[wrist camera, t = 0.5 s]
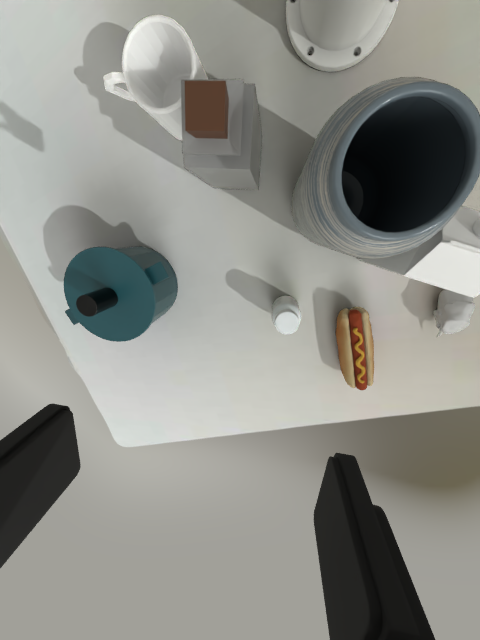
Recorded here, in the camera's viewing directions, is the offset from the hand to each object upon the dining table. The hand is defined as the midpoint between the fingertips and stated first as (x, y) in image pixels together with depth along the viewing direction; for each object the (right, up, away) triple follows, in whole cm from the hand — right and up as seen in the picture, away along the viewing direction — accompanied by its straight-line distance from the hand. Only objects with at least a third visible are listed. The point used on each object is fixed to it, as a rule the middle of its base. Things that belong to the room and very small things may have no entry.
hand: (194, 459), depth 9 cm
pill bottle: (+9, +7, +34) cm, 36 cm away
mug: (-8, +35, +27) cm, 44 cm away
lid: (-17, +8, +27) cm, 33 cm away
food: (+21, +1, +35) cm, 40 cm away
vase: (+15, +22, +28) cm, 39 cm away
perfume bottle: (+1, +28, +28) cm, 40 cm away
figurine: (+33, +7, +31) cm, 46 cm away
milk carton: (+24, +16, +29) cm, 41 cm away
